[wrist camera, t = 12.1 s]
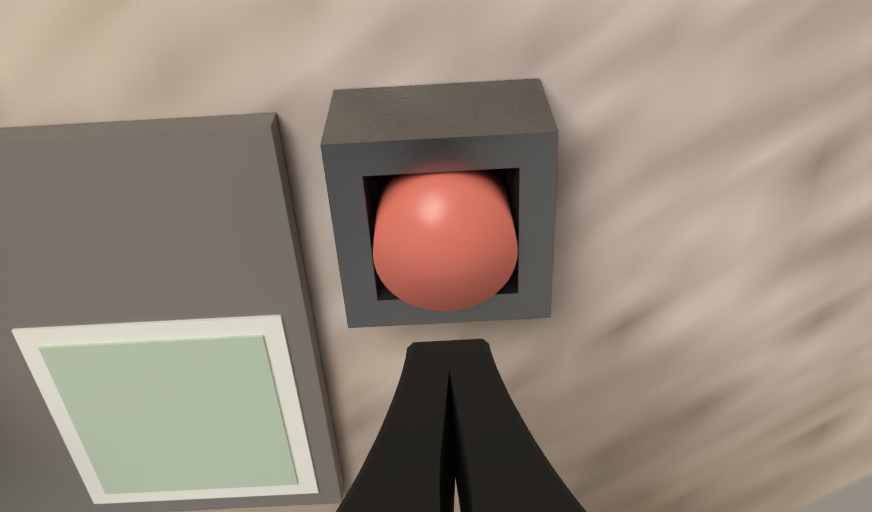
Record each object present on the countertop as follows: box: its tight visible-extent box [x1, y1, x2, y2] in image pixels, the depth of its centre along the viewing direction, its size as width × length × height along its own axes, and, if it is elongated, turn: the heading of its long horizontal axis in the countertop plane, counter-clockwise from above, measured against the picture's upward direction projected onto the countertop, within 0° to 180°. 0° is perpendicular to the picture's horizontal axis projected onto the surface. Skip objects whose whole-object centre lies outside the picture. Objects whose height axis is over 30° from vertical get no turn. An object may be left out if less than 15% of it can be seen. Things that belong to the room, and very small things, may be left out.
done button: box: [373, 169, 518, 311], centre depth 18 cm, size 3×3×2 cm
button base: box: [321, 79, 558, 328], centre depth 19 cm, size 5×5×3 cm
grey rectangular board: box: [0, 113, 344, 512], centre depth 22 cm, size 14×18×1 cm
